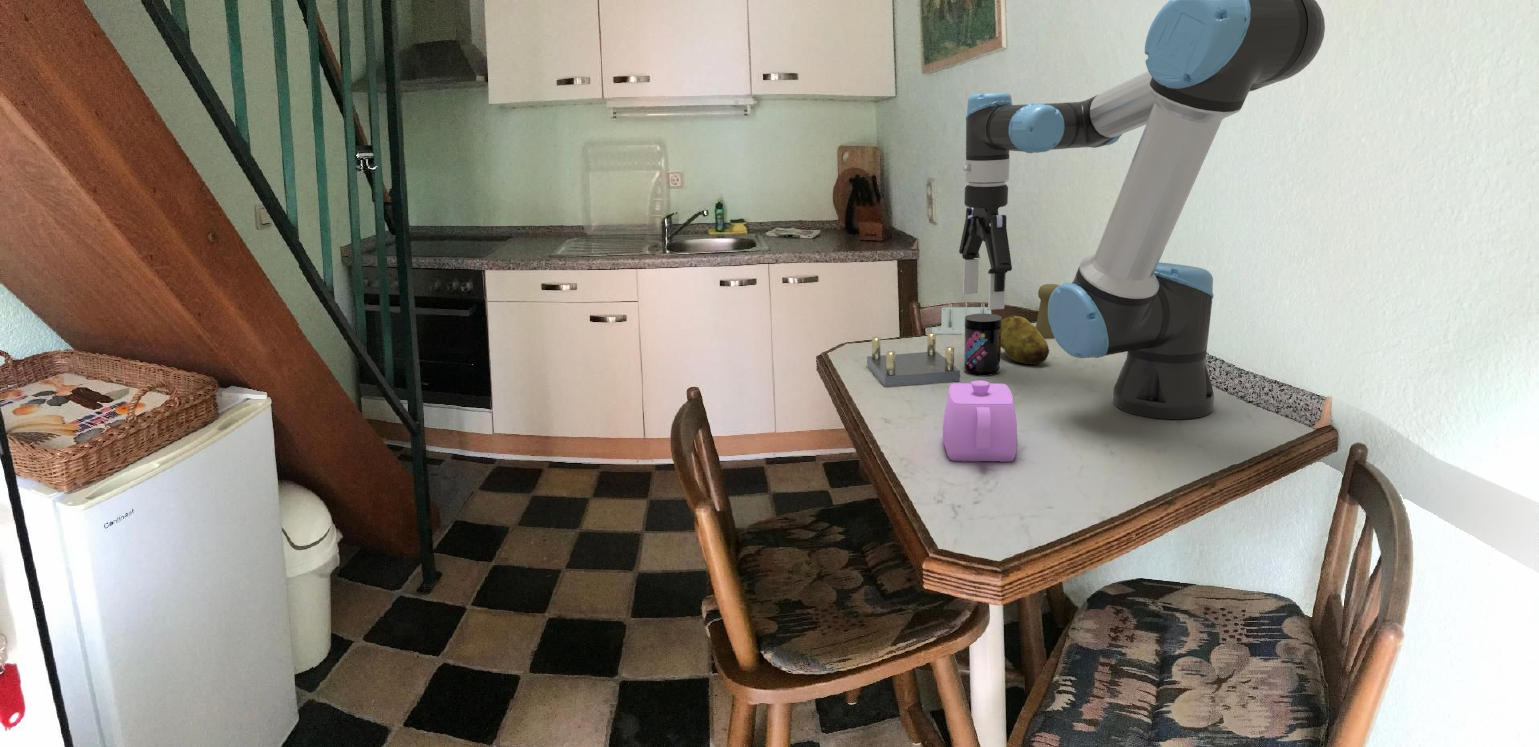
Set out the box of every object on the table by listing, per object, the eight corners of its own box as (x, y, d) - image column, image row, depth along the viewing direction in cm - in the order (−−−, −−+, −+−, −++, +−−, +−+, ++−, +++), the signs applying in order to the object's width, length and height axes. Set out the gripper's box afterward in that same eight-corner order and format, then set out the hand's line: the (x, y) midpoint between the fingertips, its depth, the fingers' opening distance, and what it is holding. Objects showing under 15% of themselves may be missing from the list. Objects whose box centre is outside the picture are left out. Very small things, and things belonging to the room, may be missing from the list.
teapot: (940, 426, 141) (941, 364, 139) (1009, 427, 140) (1011, 364, 137) (944, 470, 124) (945, 400, 121) (1022, 472, 123) (1025, 401, 120)
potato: (1007, 369, 169) (1009, 328, 167) (991, 351, 182) (992, 313, 180) (1051, 367, 169) (1053, 326, 167) (1032, 349, 182) (1033, 311, 180)
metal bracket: (933, 298, 207) (999, 298, 204) (932, 320, 210) (998, 320, 207) (932, 330, 195) (1003, 330, 192) (931, 353, 198) (1001, 353, 195)
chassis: (959, 381, 163) (960, 349, 162) (884, 387, 162) (884, 355, 160) (936, 361, 177) (936, 331, 175) (867, 366, 175) (866, 336, 174)
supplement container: (961, 366, 172) (962, 313, 169) (996, 366, 172) (998, 312, 169) (966, 376, 166) (967, 322, 163) (1003, 376, 165) (1005, 321, 162)
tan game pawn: (1040, 339, 189) (1043, 288, 186) (1030, 332, 195) (1032, 282, 192) (1068, 337, 190) (1071, 286, 187) (1056, 331, 195) (1059, 281, 192)
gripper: (944, 179, 170) (942, 288, 177) (991, 191, 147) (987, 317, 153) (982, 177, 171) (978, 286, 178) (1035, 189, 148) (1029, 314, 154)
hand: (982, 301), depth 165 cm, fingers open, 13 cm apart
